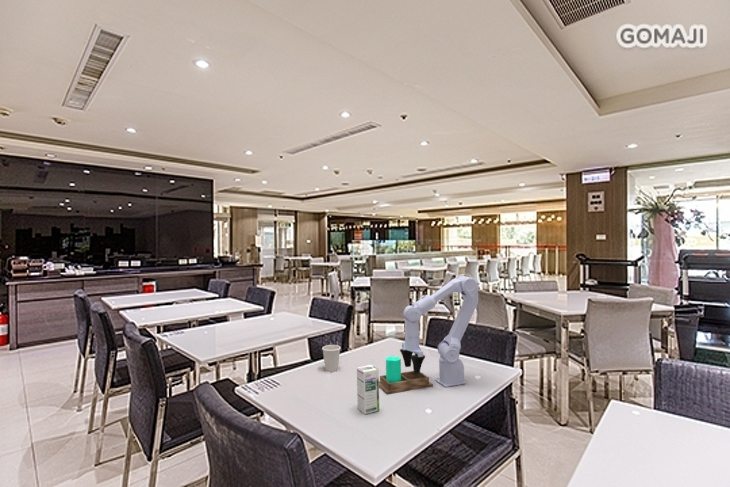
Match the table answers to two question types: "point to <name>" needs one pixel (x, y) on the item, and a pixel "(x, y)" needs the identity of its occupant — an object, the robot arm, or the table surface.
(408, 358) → the robot arm
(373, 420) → the table surface
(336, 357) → the dixie cup
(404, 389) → the divided wooden tray
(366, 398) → the syrup box
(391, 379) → the candle
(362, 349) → the table surface
